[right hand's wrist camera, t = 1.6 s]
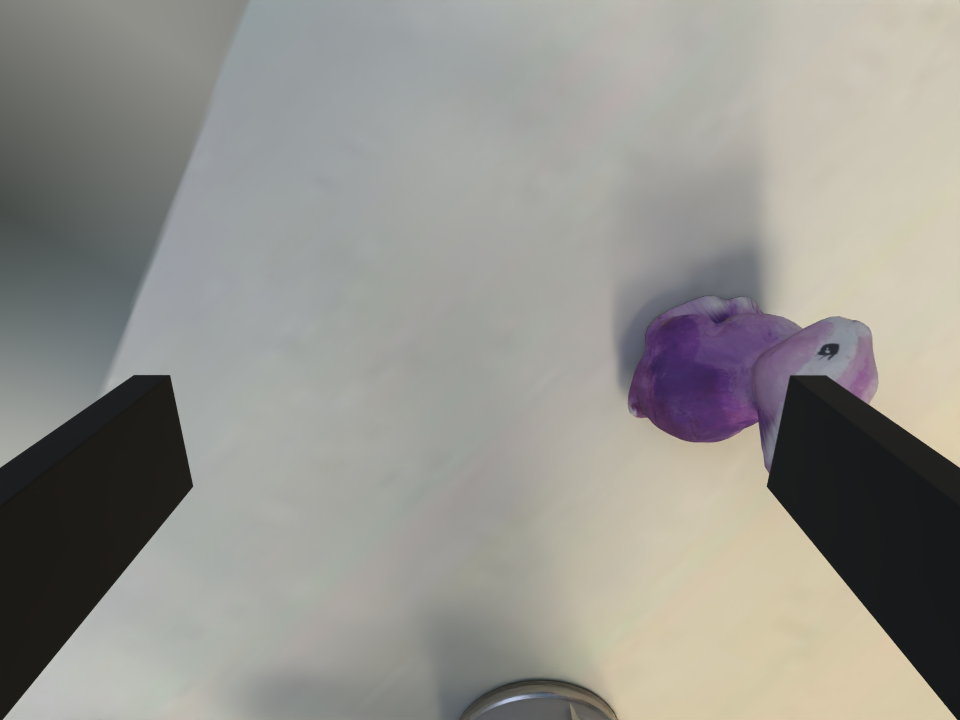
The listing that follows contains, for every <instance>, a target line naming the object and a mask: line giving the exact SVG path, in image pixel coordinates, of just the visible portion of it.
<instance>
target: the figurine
mask: <svg viewBox="0 0 960 720" xmlns="http://www.w3.org/2000/svg"><path fill="white" fill-rule="evenodd" d="M645 342H646V347H645V352H644V354H643V356H642V358H641V360H640V361H639V363H638V365H637V367H636V369H635V372H634V376H633V379H632V383H631V386H630V390H629V395H628V408H629V411H630V414H632V415H633V416H635V417H638V418H647V417H648V418H649V419H650V420H651V422H652V423H653V424H654V425H655V426H657V427H658V428H659V429H661V430H663V431H665V432H666V433H668V434H670V435H672V436H675V437H677V438H679V439H681V440H685V441H689V442H718V441H722V440H725V439H728V438H730V437H732V436H734V435H736V434H737V433H739V432H740V431H742V430H743V429H744V428H747V427H749V426H751V425H753V424H755V423H757V422H759V429H760V437H761V445H762V450H763V455H764V463H765V468H766V469H767V471H768V472H769V474H770V469H771V464H772V459H773V454H774V450H775V445H776V440H777V435H778V430H779V426H780V421H781V416H782V411H783V406H784V401H785V397H786V392H787V387H788V382H789V377H790V375H827V376H828V377H829V378H831V379H832V380H834V381H835V382H837V383H838V384H840V385H841V386H842V387H844V388H845V389H847V390H848V391H850V392H851V393H853V394H854V395H855V396H857V397H858V398H860V399H861V400H863V401H864V402H865V403H867V404H868V405H869V403H870V402H871V400H872V398H873V397H874V395H875V393H876V391H877V387H878V373H877V368H876V364H875V359H874V353H873V343H872V334H871V331H870V329H869V327H867V326H866V325H865V324H864V323H862V322H860V321H856V320H850V319H846V318H843V317H840V316H838V317H829V318H826V319H823V320H820V321H818V322H816V323H814V324H812V325H810V326H808V327H806V328H804V329H802V328H801V327H800V326H798V325H797V324H796V323H794V322H792V321H790V320H788V319H786V318H783V317H780V316H776V315H770V314H763V313H762V312H761V310H760V309H759V307H758V306H757V304H756V302H754V301H753V300H751V299H750V298H747V297H738V298H732V299H729V300H723V299H721V298H719V297H717V296H704V297H700V298H697V299H694V300H692V301H690V302H686V303H685V304H682V305H679V306H677V307H674V308H672V309H671V310H669V311H667V312H665V313H664V314H661V315H660V316H658V317H657V318H655V319H654V320H653V322H652V323H651V324H650V325H649V327H648V329H647V331H646V335H645Z"/></svg>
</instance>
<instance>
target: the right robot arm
mask: <svg viewBox="0 0 960 720" xmlns="http://www.w3.org/2000/svg"><path fill="white" fill-rule="evenodd" d="M192 487H193V483H192V479H191V474H190V469H189V464H188V459H187V454H186V450H185V445H184V440H183V435H182V430H181V426H180V421H179V416H178V411H177V406H176V401H175V397H174V392H173V387H172V382H171V377H170V375H133V376H132V377H131V378H129V379H128V380H126V381H125V382H123V383H122V384H120V385H119V386H118V387H116V388H115V389H113V390H112V391H110V392H109V393H107V394H106V395H105V396H103V397H102V398H100V399H99V400H97V401H96V402H95V403H93V404H92V405H90V406H89V407H87V408H86V409H84V410H83V411H82V412H80V413H79V414H77V415H76V416H74V417H73V418H71V419H70V420H69V421H67V422H66V423H64V424H63V425H61V426H60V427H58V428H57V429H56V430H54V431H53V432H51V433H50V434H48V435H47V436H45V437H44V438H43V439H41V440H40V441H38V442H37V443H35V444H34V445H33V446H31V447H30V448H28V449H27V450H25V451H24V452H22V453H21V454H19V455H18V456H17V457H15V458H14V459H12V460H11V461H9V462H8V463H7V464H5V465H4V466H2V467H1V468H0V720H3V719H4V717H5V716H6V715H7V714H8V713H9V711H10V710H11V709H12V708H13V706H14V705H15V704H16V703H17V702H18V700H19V699H20V698H21V697H22V695H23V694H24V693H25V692H26V691H27V689H28V688H29V687H30V686H31V684H32V683H33V682H34V681H35V680H36V678H37V677H38V676H39V675H40V673H41V672H42V671H43V670H44V668H45V667H46V666H47V665H48V664H49V662H50V661H51V660H52V659H53V657H54V656H55V655H56V654H57V653H58V651H59V650H60V649H61V648H62V646H63V645H64V644H65V643H66V642H67V640H68V639H69V638H70V637H71V635H72V634H73V633H74V632H75V631H76V629H77V628H78V627H79V626H80V624H81V623H82V622H83V621H84V620H85V618H86V617H87V616H88V615H89V613H90V612H91V611H92V610H93V609H94V607H95V606H96V605H97V604H98V602H99V601H100V600H101V599H102V597H103V596H104V595H105V594H106V593H107V591H108V590H109V589H110V588H111V586H112V585H113V584H114V583H115V582H116V580H117V579H118V578H119V577H120V575H121V574H122V573H123V572H124V571H125V569H126V568H127V567H128V566H129V564H130V563H131V562H132V561H133V560H134V558H135V557H136V556H137V555H138V553H139V552H140V551H141V550H142V549H143V547H144V546H145V545H146V544H147V542H148V541H149V540H150V539H151V538H152V536H153V535H154V534H155V533H156V531H157V530H158V529H159V528H160V526H161V525H162V524H163V523H164V522H165V520H166V519H167V518H168V517H169V515H170V514H171V513H172V512H173V511H174V509H175V508H176V507H177V506H178V504H179V503H180V502H181V501H182V500H183V498H184V497H185V496H186V495H187V493H188V492H189V491H190V490H191V489H192ZM767 487H768V489H769V490H770V491H771V492H772V493H773V495H774V496H775V497H776V498H777V500H778V501H779V502H780V503H781V504H782V506H783V507H784V508H785V509H786V511H787V512H788V513H789V514H790V515H791V517H792V518H793V519H794V520H795V522H796V523H797V524H798V525H799V526H800V528H801V529H802V530H803V531H804V533H805V534H806V535H807V536H808V537H809V539H810V540H811V541H812V542H813V544H814V545H815V546H816V547H817V549H818V550H819V551H820V552H821V553H822V555H823V556H824V557H825V558H826V560H827V561H828V562H829V563H830V564H831V566H832V567H833V568H834V569H835V571H836V572H837V573H838V574H839V575H840V577H841V578H842V579H843V580H844V582H845V583H846V584H847V585H848V586H849V588H850V589H851V590H852V591H853V593H854V594H855V595H856V596H857V597H858V599H859V600H860V601H861V602H862V604H863V605H864V606H865V607H866V609H867V610H868V611H869V612H870V613H871V615H872V616H873V617H874V618H875V620H876V621H877V622H878V623H879V624H880V626H881V627H882V628H883V629H884V631H885V632H886V633H887V634H888V635H889V637H890V638H891V639H892V640H893V642H894V643H895V644H896V645H897V646H898V648H899V649H900V650H901V651H902V653H903V654H904V655H905V656H906V657H907V659H908V660H909V661H910V662H911V664H912V665H913V666H914V667H915V668H916V670H917V671H918V672H919V673H920V675H921V676H922V677H923V678H924V680H925V681H926V682H927V683H928V684H929V686H930V687H931V688H932V689H933V691H934V692H935V693H936V694H937V695H938V697H939V698H940V699H941V700H942V702H943V703H944V704H945V705H946V706H947V708H948V709H949V710H950V711H951V713H952V714H953V715H954V716H955V717H956V719H957V720H960V468H959V467H958V466H956V465H955V464H954V463H952V462H951V461H949V460H948V459H946V458H945V457H943V456H942V455H941V454H939V453H938V452H936V451H935V450H933V449H932V448H930V447H929V446H928V445H926V444H925V443H923V442H922V441H920V440H919V439H917V438H916V437H915V436H913V435H912V434H910V433H909V432H907V431H906V430H904V429H903V428H902V427H900V426H899V425H897V424H896V423H894V422H893V421H891V420H890V419H889V418H887V417H886V416H884V415H883V414H881V413H880V412H878V411H877V410H876V409H874V408H873V407H871V406H870V405H868V404H867V403H865V402H864V401H863V400H861V399H860V398H858V397H857V396H855V395H854V394H853V393H851V392H850V391H848V390H847V389H845V388H844V387H842V386H841V385H840V384H838V383H837V382H835V381H834V380H832V379H831V378H829V377H828V376H827V375H790V377H789V382H788V387H787V392H786V397H785V401H784V406H783V411H782V416H781V421H780V426H779V430H778V435H777V440H776V445H775V450H774V454H773V459H772V464H771V469H770V474H769V479H768V483H767ZM459 720H617V718H616V716H615V714H614V713H613V711H612V710H611V709H610V708H609V706H608V705H607V704H606V703H605V702H603V701H602V700H601V699H600V698H598V697H597V696H595V695H594V694H592V693H590V692H588V691H587V690H584V689H582V688H580V687H577V686H574V685H570V684H566V683H561V682H555V681H525V682H519V683H514V684H510V685H506V686H503V687H500V688H497V689H495V690H493V691H491V692H489V693H487V694H485V695H483V696H482V697H480V698H479V699H477V700H476V701H475V702H474V703H472V704H471V705H470V706H469V707H468V708H467V709H466V710H465V712H464V713H463V714H462V716H461V717H460V719H459Z"/></svg>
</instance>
